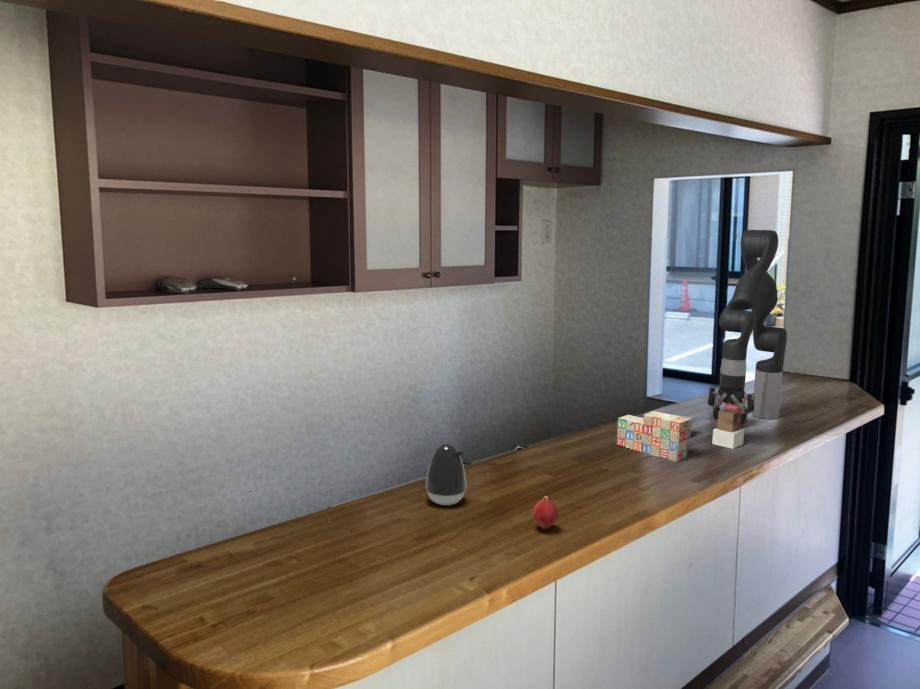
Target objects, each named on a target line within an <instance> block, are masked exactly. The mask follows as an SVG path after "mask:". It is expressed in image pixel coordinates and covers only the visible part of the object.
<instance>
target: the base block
mask: <svg viewBox="0 0 920 689" xmlns="http://www.w3.org/2000/svg"><path fill="white" fill-rule="evenodd" d="M744 437H745V429H741V428H739V430H737V431H735V432H727V431H723V430H718V429H717V427H716V428H714V429H712V442H711V443H712V445H715V446H719V447H724V448H729V449H732V450H734V449H735V448H738V447H741V446H742V445H744Z"/></svg>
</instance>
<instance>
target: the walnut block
mask: <svg viewBox="0 0 920 689" xmlns="http://www.w3.org/2000/svg"><path fill="white" fill-rule="evenodd" d="M740 414H741V412H740V411H735V410H731V409H724V408H723V409H720V411H719V412H718V420H717V426H716V428H717V429H718V430H723V431H727V432H735V431H737V430H739V429H740V428H739V426H740Z"/></svg>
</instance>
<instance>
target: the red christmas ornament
mask: <svg viewBox="0 0 920 689" xmlns="http://www.w3.org/2000/svg"><path fill="white" fill-rule="evenodd" d="M532 518H533V520H534V522H535V523H536V524H537V525H538V526H539V527H540V528H541V529H543V530H548V529H549V528H550V527H552V526H553V525H554V524H555V523H557V520H558V518H559V511H558V508H557V506H556V504H555V503H554V502H553V501H552V500H550V498H549V496H547V495H545V496H544V497H543V498H542V499H540V500H539V501H537V503H535V505H534V507H533V510H532Z"/></svg>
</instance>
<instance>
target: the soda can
mask: <svg viewBox="0 0 920 689" xmlns="http://www.w3.org/2000/svg"><path fill="white" fill-rule="evenodd" d="M743 401H744V403H745V406H746V407H747V400H746V398H745V397H744V398H743ZM723 405H724V406H723V409H731V410H735V411H740V409H739V408H738V407H737V406H736V404H735V405H732V404H730V403H728V404H727V403H725V402H724V404H723ZM740 412H741V411H740ZM740 416H741V414H740ZM744 426H745V424H744V425H740V426H739V429H741V428H743V427H744Z"/></svg>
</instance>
